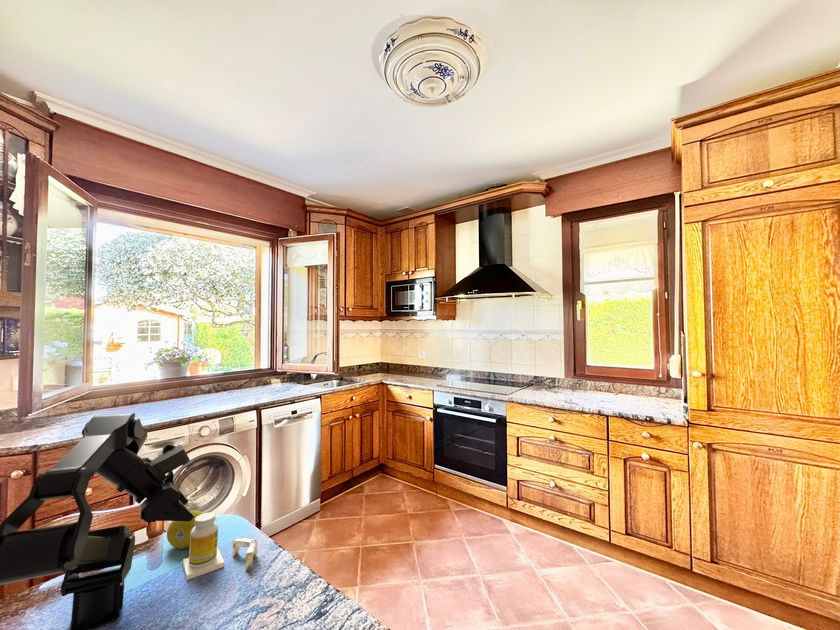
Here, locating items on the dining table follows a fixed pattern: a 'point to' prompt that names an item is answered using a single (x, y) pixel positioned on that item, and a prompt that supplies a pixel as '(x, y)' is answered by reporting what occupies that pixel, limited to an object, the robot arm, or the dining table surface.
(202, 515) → the supplement bottle
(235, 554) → the bent steel bracket
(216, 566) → the cream coaster
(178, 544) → the lemon
